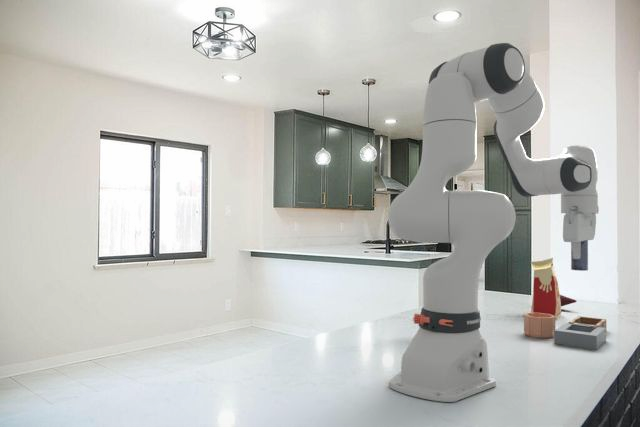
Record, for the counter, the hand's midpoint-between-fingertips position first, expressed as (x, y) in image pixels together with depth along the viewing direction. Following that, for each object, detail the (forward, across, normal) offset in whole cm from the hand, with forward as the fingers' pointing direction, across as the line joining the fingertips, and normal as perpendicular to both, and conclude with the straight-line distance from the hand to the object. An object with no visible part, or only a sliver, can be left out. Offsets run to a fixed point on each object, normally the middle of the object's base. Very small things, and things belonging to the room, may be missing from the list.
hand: (579, 258), depth 132 cm
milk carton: (+23, +33, +18) cm, 44 cm away
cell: (+3, 0, 0) cm, 3 cm away
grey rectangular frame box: (+23, 0, 0) cm, 23 cm away
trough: (+23, +14, +1) cm, 27 cm away
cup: (+23, +2, +11) cm, 25 cm away
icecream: (+23, +48, +19) cm, 57 cm away
